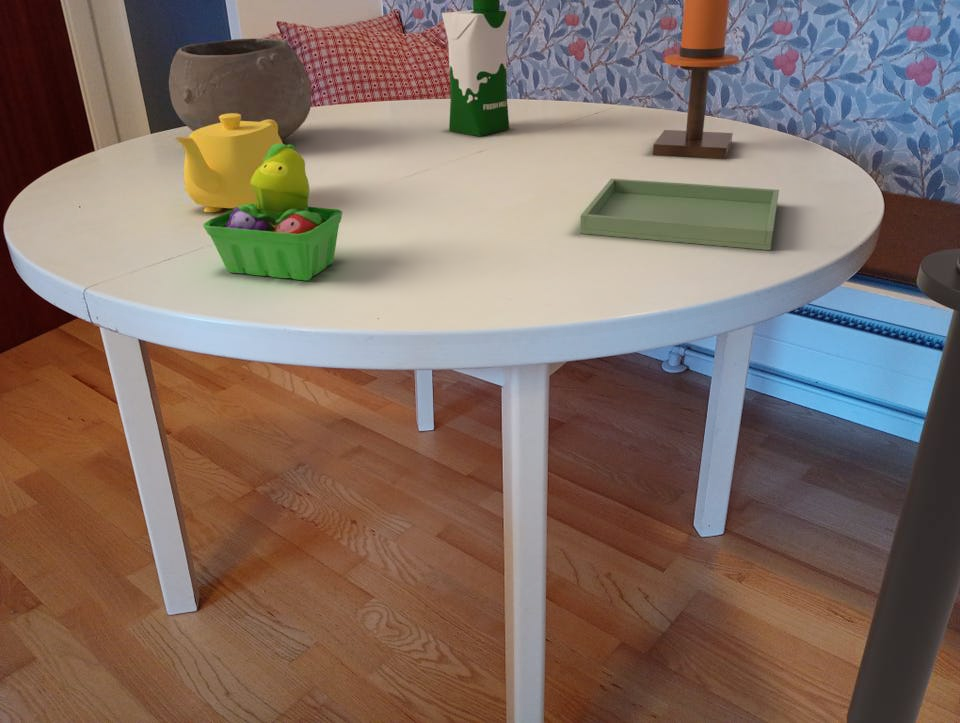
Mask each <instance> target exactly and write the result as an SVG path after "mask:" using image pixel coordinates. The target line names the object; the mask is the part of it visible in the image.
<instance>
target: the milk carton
mask: <svg viewBox="0 0 960 723" xmlns="http://www.w3.org/2000/svg"><path fill="white" fill-rule="evenodd" d="M441 16H442V20H443V25H444V29H445V33H446V38H447V43H448V44H447V45H448V67H449V69H448V70H449V89H450V90H449V92H450V105H449V107H450V108H449V125H448V126H449V127H448V129H449V130H448V131H449V132H454V133H459V134H464V135H470V136H475V137H484V136H487V135H491V134H496V133H499V132H503V131H508V130H510V121H509V119H510V118H509V106H508V104H509V103H508V70H507V69H508V68H507V67H508V65H507V64H508V63H507V62H508V60H507V59H508V58H507V54H508V52H507V49H508V48H507V46H508V45H507V42H508V33H509V28H510V22H511V16H512V11H511V10H503V9H502V10H501V9H500V0H472V9H467V10H460V11H451V12H450V11H449V12H442V13H441Z"/></svg>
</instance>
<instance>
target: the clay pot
mask: <svg viewBox="0 0 960 723" xmlns="http://www.w3.org/2000/svg"><path fill="white" fill-rule="evenodd" d="M307 74H308V73H307V71H306V69H305V66H304V64H303V62H302V61H301V58H300V56H298V54H297V52H296V51H295V49H294V48H293V47H292V46H291V45H290V44H289V43H288V42H287V41H285V39H281V38H234V39H227V40H219V41H211V42H202V43H193V44H188V45H184V46H183V47H179V48H178V50H177V51H176V52H175V55H174V56H173V58H172V61H171V64H170V70H169V77H168V91H169V96H170V101H171V105H172V108H173V109H174V112H175V113H176V115H177V116H178V118H179V119H180V120H181V121H182V122H183V124H185V126H186V127H187V128H188V129H189V130H191V131H192V132H193V131H195V130H197V129H200V128H203V127H206V126H209V125H213V124H217V123H221V121H220V119H219V116H221V115H223V114H230V113H237V114H240V115H241V121H253V122H261V121H263V120H268V119H271V120H274V121H276V123H277V125H278V135H279V137H280V139H281V140H282V141H283V140H284V139H286V138H288V137H289V136H291V135H292V134H294V133H295V132H296V131H298V130H299V128H300V127H302V125H303V124H304V123H305V121H306V120H307V118H308V116H309V114H310V111H311V106H312V87H311V83H310V79H309V77H308V75H307Z"/></svg>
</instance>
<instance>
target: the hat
mask: <svg viewBox="0 0 960 723" xmlns="http://www.w3.org/2000/svg"><path fill="white" fill-rule="evenodd" d="M729 5H730V0H684V6H683V19H682V29H681V30H682V31H681V42H680V47H679V53H673V54H668V55H666V56H664V60H663V61H664V63H665V64H667V65H672V66H678V67H680V66H688V67H718V66H722V67H727V66H733V65H737V64H739V61H740V57H739V56H738V55H734V54H731V53H730V54H729V53H726V46H725V45H726V37H727V36H726V35H727V27H728V16H729V8H730V6H729Z"/></svg>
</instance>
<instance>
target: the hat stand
mask: <svg viewBox="0 0 960 723" xmlns="http://www.w3.org/2000/svg"><path fill="white" fill-rule="evenodd" d="M722 67H723V66H718V67H688V66H679V69H680V70H681V69H682V70H684V71H690V81H689V82H690V83H689V95H688V104H687V105H688V106H687V116H686V125H685V126H686V128H685V130H679V129H678V130H676V129H664V130H663V131H662V132H661V133H660V135H659V137H658V138H657V139H656V140H655V141H654V143H653V146H652V155H653V156H669V157H684V158H685V157H687V158H688V157H689V158H704V159H721V160H726V158H727V155H728V153H729V150H730V148H731V145H732V142H733V132H720V131H719V132H717V131H704V126H705V117H706V107H707V99H708V98H707V96H708V89H709V88H708V86H709V77H710V76H709V75H710V72H711V71H718V70H721V69H722Z"/></svg>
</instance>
